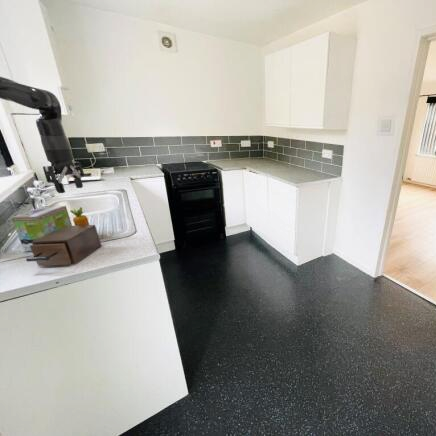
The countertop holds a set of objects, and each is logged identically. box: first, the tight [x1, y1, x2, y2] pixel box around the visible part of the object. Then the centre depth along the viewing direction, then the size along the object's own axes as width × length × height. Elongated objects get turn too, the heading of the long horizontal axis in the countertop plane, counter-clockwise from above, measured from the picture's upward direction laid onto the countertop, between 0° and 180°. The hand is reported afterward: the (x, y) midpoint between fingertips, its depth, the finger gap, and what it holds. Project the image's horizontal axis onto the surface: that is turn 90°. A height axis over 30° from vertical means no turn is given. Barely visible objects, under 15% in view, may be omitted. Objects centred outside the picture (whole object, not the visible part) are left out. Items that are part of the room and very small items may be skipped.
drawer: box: [25, 242, 72, 267], centre depth 89 cm, size 18×10×8 cm, turn 4°
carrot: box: [69, 206, 90, 226], centre depth 105 cm, size 5×5×15 cm
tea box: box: [11, 205, 73, 252], centre depth 103 cm, size 15×10×15 cm, turn 9°
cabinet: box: [32, 224, 102, 265], centre depth 93 cm, size 15×12×10 cm
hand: (71, 190), depth 97 cm, fingers open, 8 cm apart
